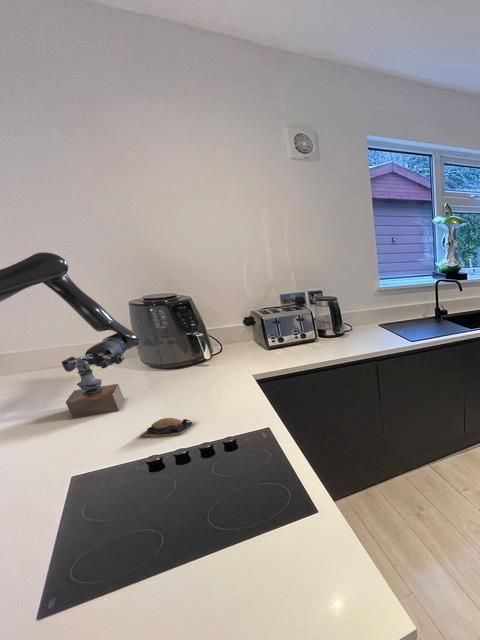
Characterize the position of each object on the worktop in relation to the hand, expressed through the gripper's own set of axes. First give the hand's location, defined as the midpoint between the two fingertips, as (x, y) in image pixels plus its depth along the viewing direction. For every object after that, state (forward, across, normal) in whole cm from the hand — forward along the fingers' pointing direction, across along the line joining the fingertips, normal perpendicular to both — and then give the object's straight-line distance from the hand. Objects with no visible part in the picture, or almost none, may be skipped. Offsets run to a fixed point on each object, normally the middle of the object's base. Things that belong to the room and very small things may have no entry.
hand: (85, 367), depth 130 cm
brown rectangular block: (+1, 0, +14) cm, 15 cm away
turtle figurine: (+29, +24, +15) cm, 40 cm away
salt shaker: (+1, 0, +9) cm, 9 cm away
